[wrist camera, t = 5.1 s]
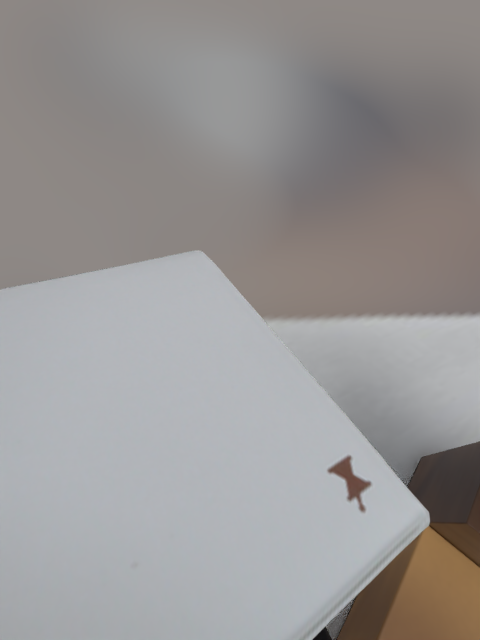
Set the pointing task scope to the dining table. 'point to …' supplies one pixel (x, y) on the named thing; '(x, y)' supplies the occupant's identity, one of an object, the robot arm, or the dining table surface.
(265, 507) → the white packaging box
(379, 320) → the dining table surface
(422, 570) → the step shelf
